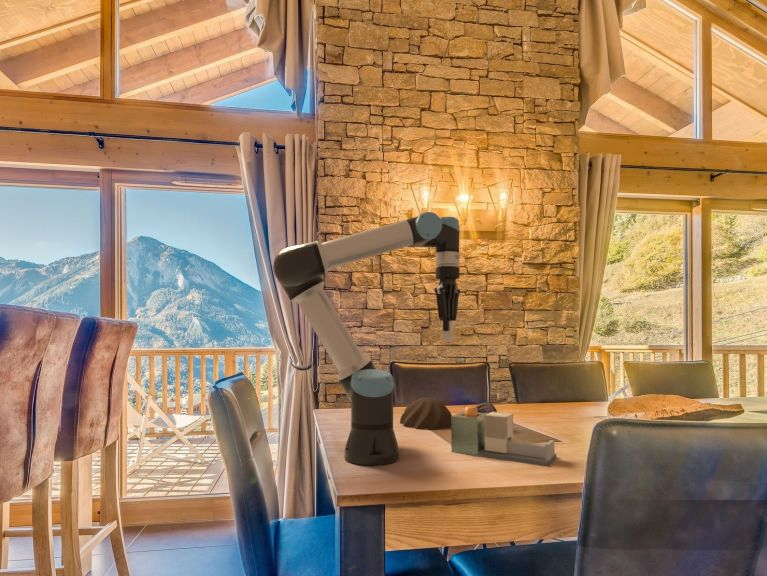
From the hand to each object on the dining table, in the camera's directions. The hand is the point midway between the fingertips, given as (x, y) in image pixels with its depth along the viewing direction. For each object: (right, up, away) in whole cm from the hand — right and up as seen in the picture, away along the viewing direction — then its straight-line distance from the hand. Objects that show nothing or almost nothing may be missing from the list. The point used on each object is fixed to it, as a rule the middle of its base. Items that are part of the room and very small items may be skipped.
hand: (447, 341), depth 156 cm
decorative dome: (-4, -34, +27) cm, 43 cm away
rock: (+15, -33, +19) cm, 41 cm away
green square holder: (+6, -31, -10) cm, 33 cm away
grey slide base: (+17, -30, -17) cm, 39 cm away
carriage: (+13, -29, -15) cm, 35 cm away
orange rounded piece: (+6, -23, -10) cm, 25 cm away
